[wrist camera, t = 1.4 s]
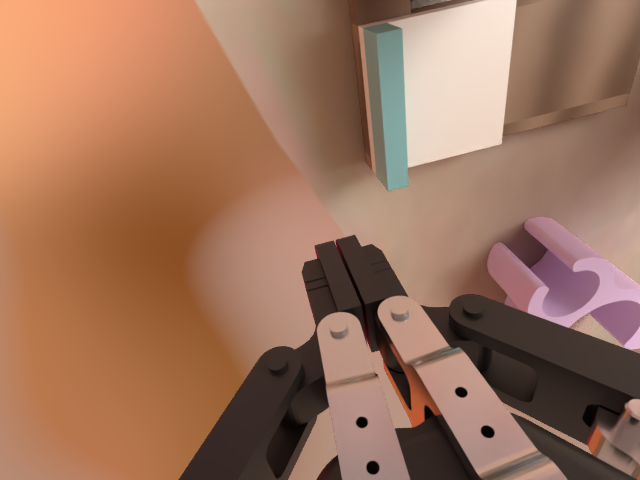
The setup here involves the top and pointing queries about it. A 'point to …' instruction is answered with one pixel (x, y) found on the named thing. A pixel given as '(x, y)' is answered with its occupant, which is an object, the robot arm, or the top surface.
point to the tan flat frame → (544, 57)
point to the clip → (568, 283)
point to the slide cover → (435, 84)
